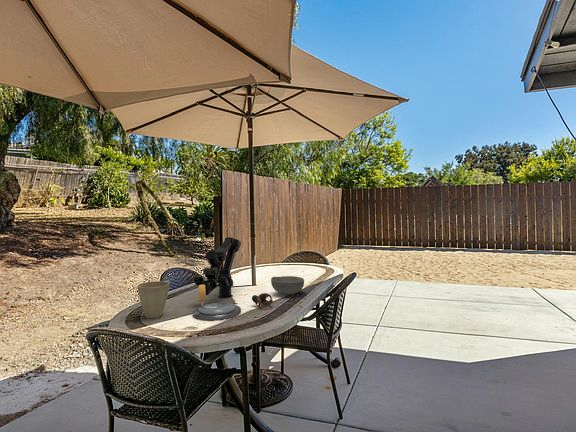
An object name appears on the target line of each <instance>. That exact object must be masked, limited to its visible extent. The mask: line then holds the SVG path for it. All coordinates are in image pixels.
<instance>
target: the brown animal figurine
mask: <svg viewBox="0 0 576 432" xmlns="http://www.w3.org/2000/svg"><path fill="white" fill-rule="evenodd" d="M267 298H269V300H267ZM251 300H252V302H253V303H254V304H255V306H259V307H258V308H259V309H260V310H263V309H264V308H266V307H270V306H271V305H272V303H274V300H273V297H272V295H271V294H270V293H266V292H262V293H260V294H259V295H256V294H253V295H252V296H251Z"/></svg>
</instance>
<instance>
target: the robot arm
mask: <svg viewBox="0 0 576 432" xmlns="http://www.w3.org/2000/svg"><path fill="white" fill-rule="evenodd" d="M241 246H242V243H241V241H240V240H239V239H237V238H234V237H233V236H231V237H229V236H228V237H225V238H224V241H223V243H221V245H220V246H219V248H217V249H211V250H210V251H208V252H207V253H206V254H205V255H204V256H205V259H206V261H207V263H208V265H210V267H204V268H203V272H202V275H204V277H202V276H200V275H195V276H194V277H193V279H192V281H193V282H194V284H195V286H198V287H199V285H205V296H209V295H210V293H212V292H213V291H214V290H215V289H216V288H219V289H218V297H220V298H222V299H225V298H230V297H233V294H232V287H234V280H233V278H232V274H231V270H232V267H233V263H234V259H235V256H236V253H238V252H239V250H240V248H241ZM222 262H224V263H223V264H222Z"/></svg>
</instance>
